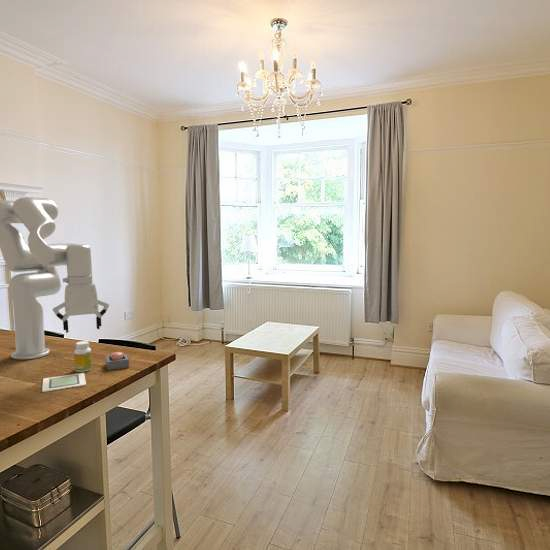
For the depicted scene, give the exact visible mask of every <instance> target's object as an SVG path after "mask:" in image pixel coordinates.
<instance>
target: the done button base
mask: <svg viewBox="0 0 550 550" xmlns="http://www.w3.org/2000/svg"><path fill="white" fill-rule="evenodd" d="M105 366H106V368H107V369H106V370H107V371H113V369H115V370H120V369H119V368H122V369H128V368H130V359H129V357H128V355H127V353H123V359H121V360H113V361H111V355H106V356H105Z"/></svg>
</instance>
